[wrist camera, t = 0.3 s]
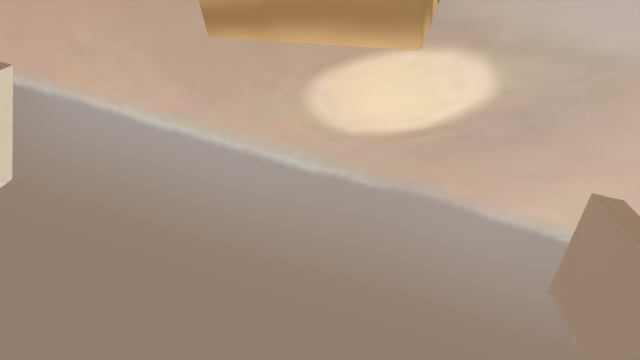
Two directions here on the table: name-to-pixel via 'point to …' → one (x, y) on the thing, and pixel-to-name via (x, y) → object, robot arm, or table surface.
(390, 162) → the table surface
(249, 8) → the socket block
